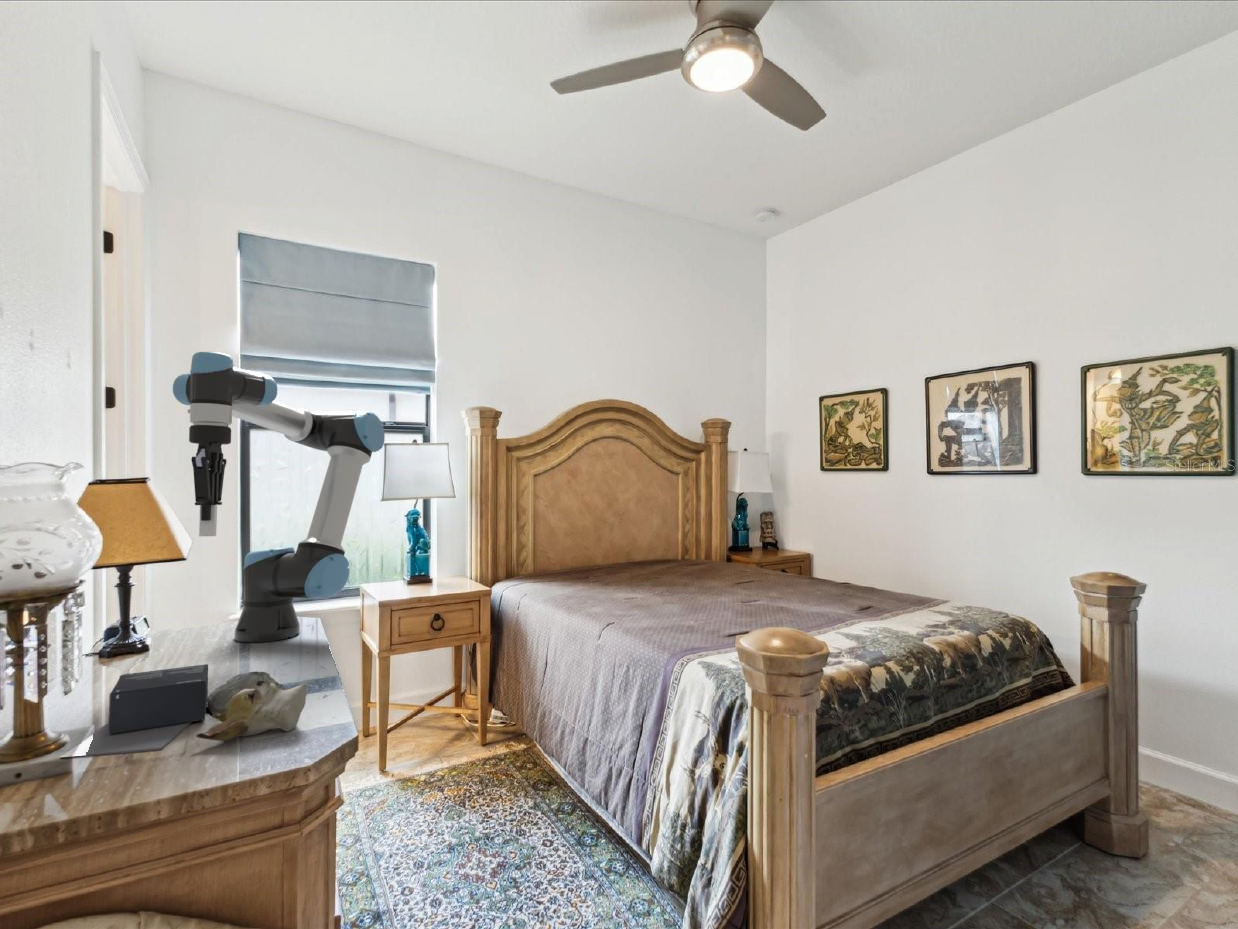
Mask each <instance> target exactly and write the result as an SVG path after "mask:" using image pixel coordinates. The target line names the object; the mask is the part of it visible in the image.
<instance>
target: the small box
mask: <svg viewBox="0 0 1238 929" xmlns="http://www.w3.org/2000/svg"><path fill="white" fill-rule="evenodd" d="M208 697H209V664H207V663H205V664H198V665H191V666H182V667H176V668H175V667H173V668H165V669H159V670H150V671H149V670H148V671H142V672H133V673H125V674H121V675H119V678H118V681H117V682H116V684H115V685H114V687H113V689H112V691H111V692H110V693H109V697H108V698H109V701H108V702H109V703H108V704H109V705H108V720H107V721H108V722H107V724H108V734H109V735H110V734H116V733H123V732H129V731H136V730H142V729H148V728H154V727H161V726H167V725H174V724H180V723H187V722H192V723H193V722H199V721H204V720H206V713H207V712H206V710H207V709H206V707H208V706H207V699H208Z"/></svg>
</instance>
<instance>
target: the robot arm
mask: <svg viewBox="0 0 1238 929" xmlns="http://www.w3.org/2000/svg"><path fill="white" fill-rule="evenodd" d="M172 393H173V396H174V398H175V399H176V401H177V402H179V403H180V404H182V405H185V406H189V409H187V413H188V414H189V422H190V423H191V424H192V425H190V426H189V428H188V431H189V433H188V442H189V443H191V444H197V445H198V446H197V451H196V453H195V456H192V457H191V458H190V459H191V460H190V461H191V465H192V468H193V470H192V471H193V480H194V481H193V484H194V497H195V498H194V499H195V502H194V505H195V506H199V527H198V528H199V530H198V532H199V534H198V536H199V537H216V536H217V523H218V522H217V521H218V520H217V519H218V518H217V517H218V516H217V515H218V506H222V505H223V501H222V496H223V488H224V487H223V486H224V476H225V469H226V465H227V462H228V461H227V458H224V453H223V450H222V445H226V446H227V445H230V444H231V443H232V428H231V427H229V426H231V424H233V422H232V421H233V420H232V419H233V417H234V418H237V419H239V420H242V421H246V422H248V423H251V424H254V425H257V426H259V427H262V428H266V429H267V430H271V431H273V432H276V433H280V434H282V435H283V436H284V437H285V438H286V439H287V440H288V441H291V442H295V443H297V444H300V445H302V446H306V447H309V448H311V449H315V450H318V451H323V452H327V454H328V455H329V456H330V458H329V462H328V466H327V470H326V472H325V476H324V479H323V483H322V486H321V489H320V493H319V496H318V500H317V502H316V506H315V509H314V512H313V516H312V520H311V523H310V525H309V530H308V533H307V536H306V538H305V539H303V540H301V541H299V542H298V544H297V548H296V550H295V548H294V547H293V546H288V547H287V546H286V547H280V548H271V549H270V548H269V549H263V550H257V551H256V550H255V551H250V552H248V553H247V554H246V555H245V557H244V564H243V587H242V588H243V593H242V594H243V596H242V598H243V599H242V600H243V601H242V602H243V605H242V607H243V608H242V611H241V613H240V617H239V619H238V621H237V624H236V627H235V629H234V641H237V642H239V643H240V642H241V643H265V642H273V641H274V640H275V641H280V640H285V638H286V639H289V638H288V637H290V638H293V637H296V636H297V635H296V634H298V633H299V632H300V631H301V629H300V628H301V626H300V621H299V619H298V616H297V613H296V609H295V606H294V599H309V600H310V599H311V600H315V601H316V600H323V599H324V600H325V599H331V598H334V597H335V596H336V595H338V594H340V593H341V592H342V590H343V589H344V588H345V586H346V584H347V583H348V580H349V576H350V572H351V570H350V569H351V568H350V567H349V566H350V563H349V560H348V558H347V557H346V556H345V553H346V551H345V549H344V548H343V545H342V542H343V538H344V534H345V531H346V527H347V524H348V521H349V520H348V519H349V516H350V512H351V509H352V505H353V501H354V498H355V495H356V490H357V486H358V484H359V481H360V476H361V474H362V470H363V466H364V465H366V464H368V463H369V462H371V458H372V455H373V453H376V452H378V451H380V450H382V448H383V447H384V444H385V438H386V436H385V429H384V426H383V423H382V421H381V419H380V418H379V416H378V415H377V414H375V413H374V412H371V411H368V410H367V411H364V410H363V411H362V410H356V411H312V410H311V411H310V410H307V409H304V408H292V407H291V406H288V405H285V404H283V403H280V402H278V401H276V398H277V396H278V384H277V382H276V381H275V379H274V378H273V377H271V376H270V375H267V374H264V373H262V372H259V371H258V372H257V371H256V372H255V371H251V370H247V369H246V370H245V369H243V368H238V367H235V364H234V359H233V357H232V356H231V355H229V354H226V353H223V352H216V351H215V352H214V351H198V352H195V353H194V354H193V355H192V357H191V364H190V370H189V373H183V374H180V375H178V376H176V378H175V379H174V380H173V384H172ZM300 633H301V632H300ZM300 633H299V634H300ZM299 634H298V635H299ZM295 635H296V636H295Z"/></svg>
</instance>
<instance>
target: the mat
mask: <svg viewBox="0 0 1238 929" xmlns="http://www.w3.org/2000/svg"><path fill="white" fill-rule="evenodd" d="M207 709H208V706H206V710H207ZM192 723H193V722H187V723H180V724H174V725H167V726H161V727H154V728H148V729H142V730H136V731H129V732H123V733H116V734H110V735H109V734H108V723H107V724H105V725H104V726H102V727H101V728H100V729H98V730H97V731H94V733H92V734H93V740H92V742H91V744H90V747H89V750H88V752H86V755H87V756H86V757H94V756H107V755H116V754H117V755H118V754H127V753H139V752H150V751H151V752H153V751H161V750H163V749H164V748H165V747H166V746H168V744H170V743H171V742H172V741H173V740H174V739H176V737H177V736H179V735H180V734H181V733H182V732H183V731H184V730H185V729H186V728H188V726H190V725H191V724H192Z"/></svg>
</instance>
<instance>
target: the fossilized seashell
mask: <svg viewBox="0 0 1238 929" xmlns="http://www.w3.org/2000/svg"><path fill="white" fill-rule="evenodd" d="M258 681H269V682H270V683H273V684H275V686H276V687H277V688H278V689H280V690H286V686H285V685H284V684H283V683H279V682H278V681H276V680H275V679H274V678H273V677H271V674H270V673H268V672H266V671H249V672H247V673H243V674H240V673H239V674H237V675H235V676H233V677H231V678H229V679H228V680H227V681H226V683H224V684H221V685H219V686H218V687H217V688H215V689H214V690H213V691H212V692H210V693H209V694H208V699H207V706H206V707H207V709H208V710H209V712H210V713H211V714H212V715H213V714H217V713H218V714H223V713H225V712H226V710H227V705H228V703H229V701H230V700H231V699H232V698H233V697H234V696H235V695H236V694H237V693H239V692H240V691H242V690H244V689H251V688H255V686H256V684H257V682H258Z"/></svg>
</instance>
